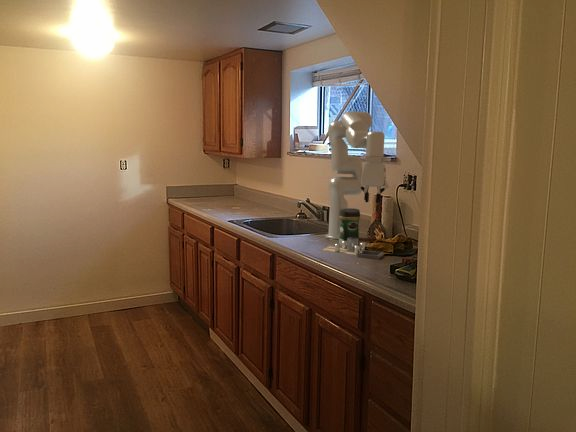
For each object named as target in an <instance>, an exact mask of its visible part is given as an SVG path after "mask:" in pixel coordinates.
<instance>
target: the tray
mask: <svg viewBox="0 0 576 432" xmlns="http://www.w3.org/2000/svg"><path fill="white" fill-rule="evenodd" d="M382 257H384V252H383V251H373V250H366V249H365V250H363V251H361V252H360V253H358V255H357V258H362V259H372V260H380V259H381V258H382Z"/></svg>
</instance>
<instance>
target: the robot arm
mask: <svg viewBox="0 0 576 432" xmlns="http://www.w3.org/2000/svg"><path fill="white" fill-rule="evenodd" d="M372 118H373V117H372V114H370V113H369V112H368V111H367V112H366V111H357V110H356V111H354V110H350V111H346V112H345V113H344V114H342V117H341V120H334V121H331V122H330V123H329V125H328V127H327V128H328V129H327V135H328V139H329V143H330V149H331V158H330V159H331V162H330V163H331V172H332V173H334V174H336V175H351V176H333V177H332V178H330V179H329V181H328V192H329V214H328V215H329V216H328V233H326V234H325V238H327V239H331V240H333V239H334V240H339V234H340V218H339V214H340V209H346V208H349V204H348V201H347V200H346V198H345V196H359V195H361V194H362V192H363V194H364V197H363V199H364V201H365V203H369V202H370V200H369V199H370V198H369V197H370V192H369V191H370V190H369V189H370V187H373V188H376V190H377V193H376V195H375V196H376V197H375V203H376V204H380V202H381V198H382V197H381V195H382V193H383V192H384V191H385V190H388V189H389V188H390V185H389V183H388V182H387V177H386V176H387V170H386V163H385V162H387V159H388V158H387V157H385V156H384V151H385V150H384V148H385V133H384V132H383V131H373V130H372V131H370V129H371V127H372V125H373V124H372V123H373V119H372ZM344 138H345V139H346V140H345V139H344ZM348 145H349V146H350V147H352V148H354V149H365V163H363V162H362V159H361V158H360V157H359V156H356V155H349V147H348Z"/></svg>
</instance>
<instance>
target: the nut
mask: <svg viewBox="0 0 576 432" xmlns="http://www.w3.org/2000/svg"><path fill="white" fill-rule="evenodd" d="M355 246H358V238H355V237H348V238H347V251H348V252H355Z"/></svg>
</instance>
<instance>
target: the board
mask: <svg viewBox="0 0 576 432" xmlns="http://www.w3.org/2000/svg"><path fill="white" fill-rule="evenodd" d="M320 251H322V252H330V253H338V254H348V255H355V256H356V255H357V256H358V254H354V252H348V251H347V249H342V247H340V252H335V246H326V247H324V248H323V249H321V250H320ZM360 252H361V251H360Z"/></svg>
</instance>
